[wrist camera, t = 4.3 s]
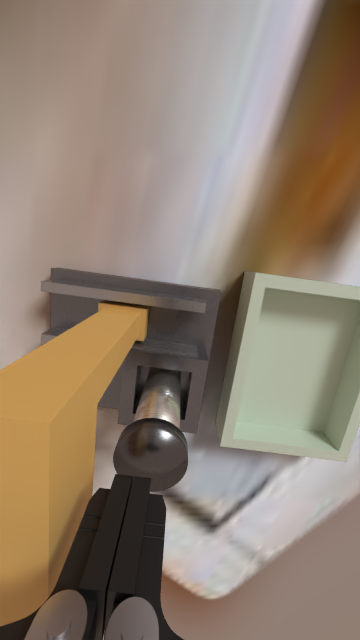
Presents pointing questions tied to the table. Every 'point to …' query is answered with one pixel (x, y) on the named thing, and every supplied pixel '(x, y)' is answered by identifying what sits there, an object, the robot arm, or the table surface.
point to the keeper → (53, 448)
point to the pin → (155, 434)
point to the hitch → (161, 340)
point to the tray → (293, 369)
